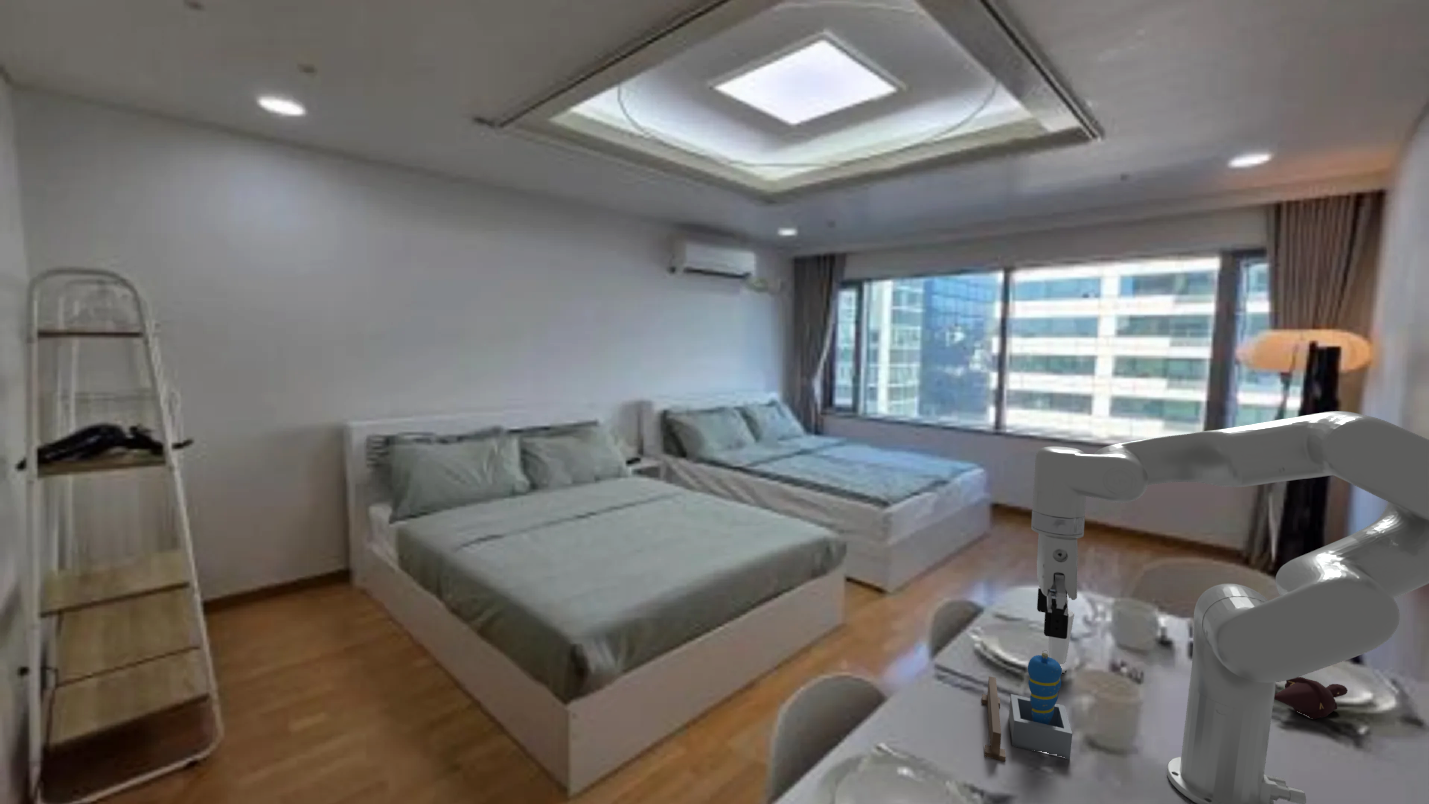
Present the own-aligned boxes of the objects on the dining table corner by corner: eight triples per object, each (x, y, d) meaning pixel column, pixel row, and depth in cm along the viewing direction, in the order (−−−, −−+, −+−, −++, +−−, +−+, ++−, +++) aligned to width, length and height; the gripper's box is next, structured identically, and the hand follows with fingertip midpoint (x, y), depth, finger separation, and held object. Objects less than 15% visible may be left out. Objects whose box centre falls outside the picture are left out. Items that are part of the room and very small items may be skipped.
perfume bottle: (1038, 665, 129) (1044, 596, 128) (1052, 661, 131) (1059, 593, 129) (1058, 676, 125) (1065, 605, 124) (1073, 672, 127) (1080, 601, 125)
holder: (1062, 730, 108) (1064, 705, 107) (1069, 760, 100) (1072, 733, 99) (1008, 717, 111) (1010, 694, 110) (1012, 746, 103) (1014, 720, 102)
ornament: (1060, 747, 102) (1069, 660, 100) (1027, 742, 103) (1034, 656, 101) (1050, 727, 107) (1058, 645, 105) (1018, 723, 108) (1025, 641, 107)
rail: (999, 701, 116) (1001, 678, 115) (1005, 761, 99) (1007, 735, 98) (981, 697, 117) (983, 675, 116) (984, 756, 100) (986, 730, 100)
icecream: (1303, 698, 108) (1371, 699, 111) (1263, 666, 115) (1328, 668, 118) (1284, 728, 111) (1352, 729, 113) (1246, 695, 117) (1311, 697, 120)
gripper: (1094, 541, 92) (1086, 652, 94) (1074, 512, 108) (1068, 607, 110) (1037, 535, 95) (1031, 642, 96) (1026, 507, 111) (1021, 600, 112)
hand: (1051, 624), depth 103 cm, fingers open, 9 cm apart
